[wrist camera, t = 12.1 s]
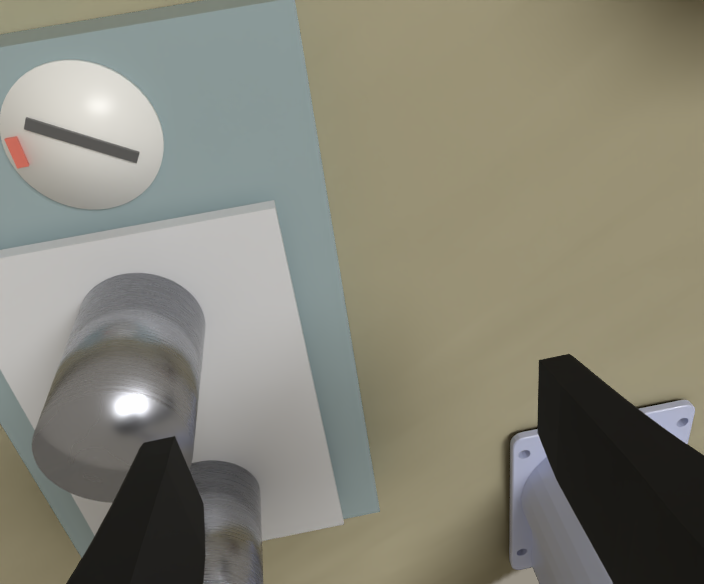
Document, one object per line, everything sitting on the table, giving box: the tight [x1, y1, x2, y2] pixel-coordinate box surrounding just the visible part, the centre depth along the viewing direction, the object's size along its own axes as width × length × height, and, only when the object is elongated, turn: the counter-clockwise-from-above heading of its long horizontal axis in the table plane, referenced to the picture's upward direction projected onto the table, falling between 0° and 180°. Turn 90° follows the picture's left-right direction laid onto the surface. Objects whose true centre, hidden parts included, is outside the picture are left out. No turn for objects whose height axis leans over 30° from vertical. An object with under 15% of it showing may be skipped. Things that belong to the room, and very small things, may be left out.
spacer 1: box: [32, 273, 205, 503], centre depth 18 cm, size 4×4×5 cm
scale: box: [0, 0, 380, 558], centre depth 22 cm, size 20×12×3 cm, turn 8°
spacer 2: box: [189, 460, 263, 584], centre depth 22 cm, size 4×4×5 cm
